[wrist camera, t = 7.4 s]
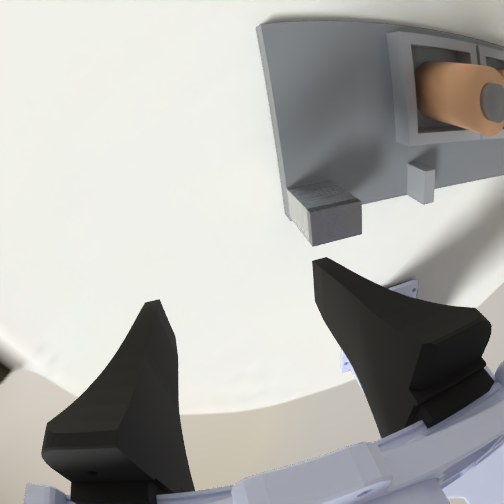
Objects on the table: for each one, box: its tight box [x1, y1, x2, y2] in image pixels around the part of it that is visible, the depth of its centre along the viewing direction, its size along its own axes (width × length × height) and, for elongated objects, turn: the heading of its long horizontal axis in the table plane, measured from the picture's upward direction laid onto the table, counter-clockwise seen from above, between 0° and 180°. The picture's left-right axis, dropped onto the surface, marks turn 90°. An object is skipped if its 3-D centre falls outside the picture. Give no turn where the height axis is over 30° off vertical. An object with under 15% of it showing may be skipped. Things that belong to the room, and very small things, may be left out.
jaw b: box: [414, 61, 504, 136], centre depth 15 cm, size 4×4×6 cm
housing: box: [256, 21, 504, 221], centre depth 18 cm, size 12×24×3 cm, turn 99°
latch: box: [287, 180, 362, 246], centre depth 19 cm, size 2×3×4 cm, turn 99°
